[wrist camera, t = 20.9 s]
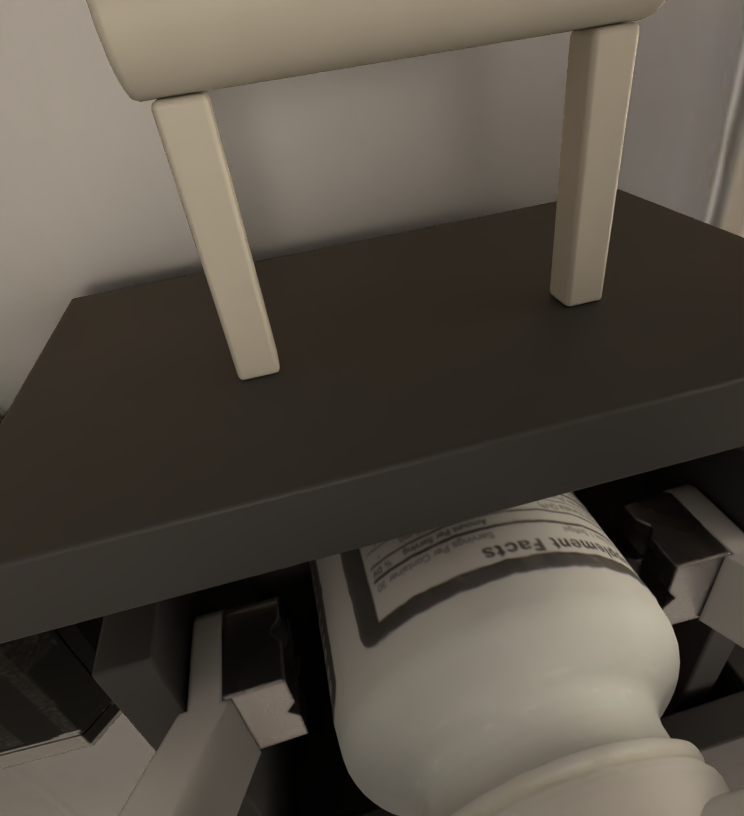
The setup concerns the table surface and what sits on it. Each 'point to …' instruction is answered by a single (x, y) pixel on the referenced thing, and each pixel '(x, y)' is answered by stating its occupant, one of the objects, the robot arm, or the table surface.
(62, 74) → the table surface
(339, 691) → the pill bottle
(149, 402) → the drawer
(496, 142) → the table surface
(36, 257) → the table surface
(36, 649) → the camera
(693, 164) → the table surface
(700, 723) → the cabinet
